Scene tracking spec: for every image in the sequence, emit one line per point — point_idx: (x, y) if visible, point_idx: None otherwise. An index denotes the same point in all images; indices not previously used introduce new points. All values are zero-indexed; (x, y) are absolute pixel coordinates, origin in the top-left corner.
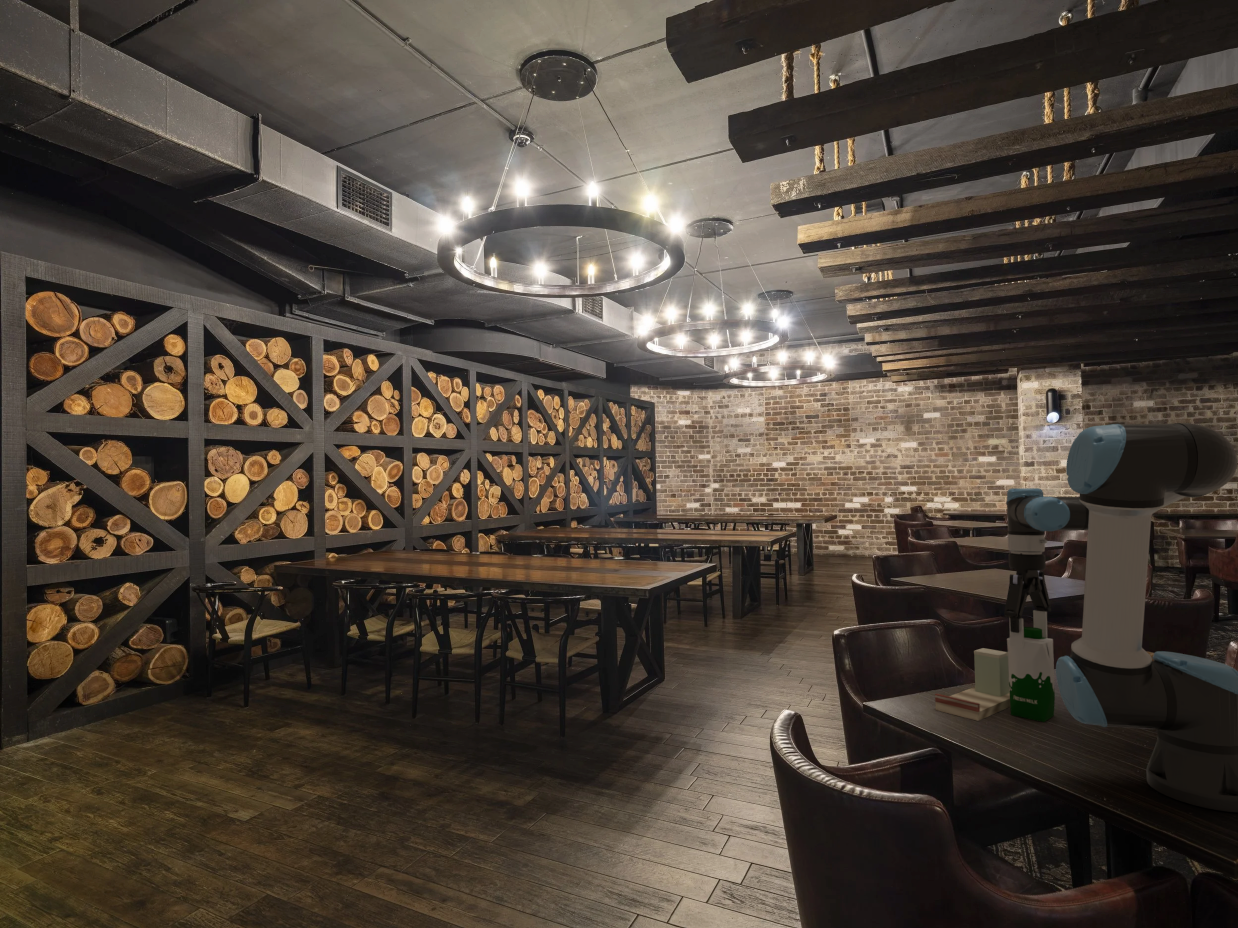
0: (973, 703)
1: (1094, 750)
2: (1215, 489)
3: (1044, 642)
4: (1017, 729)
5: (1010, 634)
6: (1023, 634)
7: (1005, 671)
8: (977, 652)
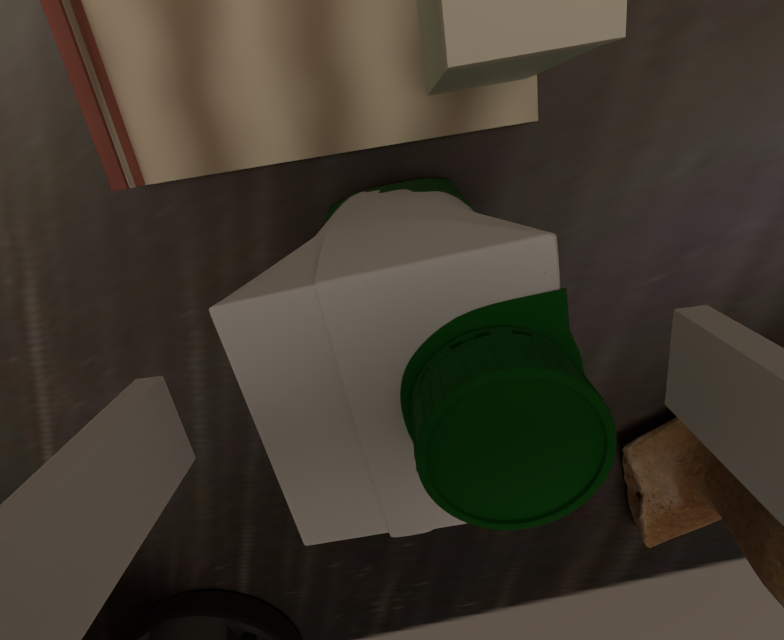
0: (105, 170)
1: (254, 482)
2: None
3: (373, 530)
4: (208, 305)
5: (74, 446)
6: (134, 546)
7: (523, 67)
8: None
